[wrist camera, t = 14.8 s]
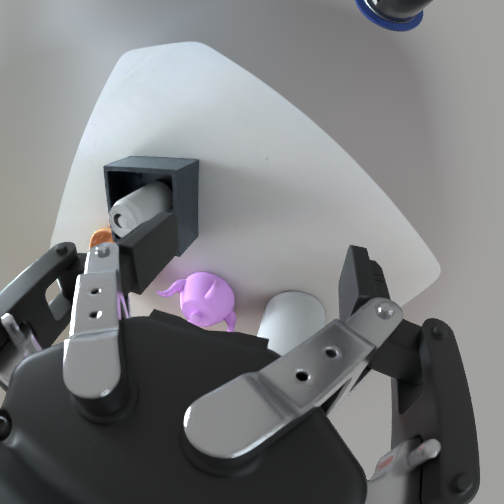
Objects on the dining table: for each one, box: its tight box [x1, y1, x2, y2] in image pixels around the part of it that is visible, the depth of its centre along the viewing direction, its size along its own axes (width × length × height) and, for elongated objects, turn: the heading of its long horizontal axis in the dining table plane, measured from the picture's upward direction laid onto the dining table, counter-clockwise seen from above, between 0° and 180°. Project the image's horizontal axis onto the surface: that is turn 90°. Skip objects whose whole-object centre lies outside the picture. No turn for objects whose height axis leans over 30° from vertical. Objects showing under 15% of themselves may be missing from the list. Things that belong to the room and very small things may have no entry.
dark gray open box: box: [104, 156, 199, 257], centre depth 46 cm, size 15×15×8 cm
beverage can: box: [109, 181, 173, 237], centre depth 43 cm, size 6×6×12 cm
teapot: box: [157, 272, 236, 332], centre depth 54 cm, size 12×14×9 cm
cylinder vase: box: [257, 291, 326, 356], centre depth 45 cm, size 12×12×25 cm
